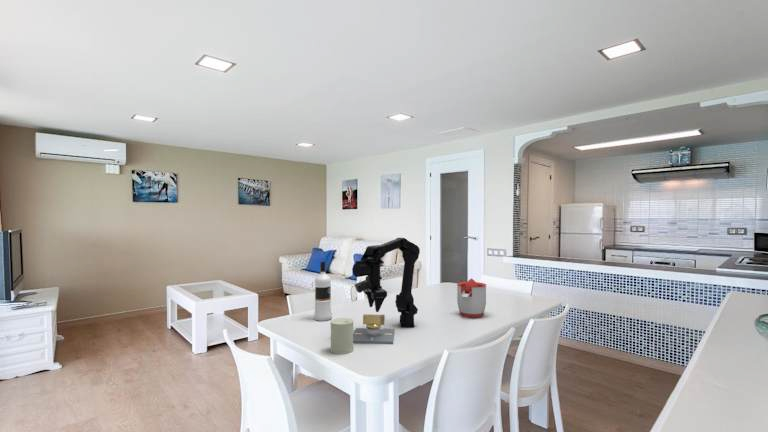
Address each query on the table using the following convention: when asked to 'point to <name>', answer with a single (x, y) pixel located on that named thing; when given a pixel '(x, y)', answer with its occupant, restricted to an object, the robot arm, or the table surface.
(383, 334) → the post base
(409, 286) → the robot arm
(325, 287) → the vodka
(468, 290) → the citrus juicer
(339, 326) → the can
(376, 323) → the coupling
